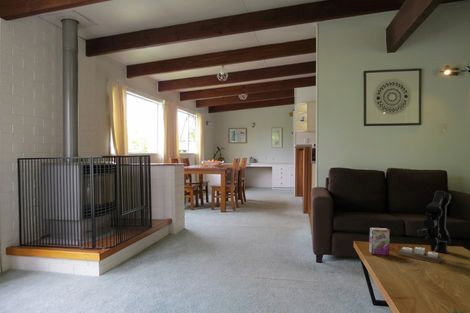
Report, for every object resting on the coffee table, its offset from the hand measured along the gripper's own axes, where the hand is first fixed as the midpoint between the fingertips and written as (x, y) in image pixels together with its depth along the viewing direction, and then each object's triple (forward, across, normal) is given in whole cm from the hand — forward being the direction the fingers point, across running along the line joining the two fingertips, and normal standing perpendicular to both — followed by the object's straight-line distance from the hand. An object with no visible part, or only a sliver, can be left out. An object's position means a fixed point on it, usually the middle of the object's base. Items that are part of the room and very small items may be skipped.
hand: (432, 251), depth 187 cm
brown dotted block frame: (+5, 0, -7) cm, 9 cm away
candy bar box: (+6, +11, -28) cm, 31 cm away
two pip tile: (+3, 0, -7) cm, 8 cm away
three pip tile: (+4, 0, -14) cm, 15 cm away
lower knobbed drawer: (+4, 0, 0) cm, 4 cm away
